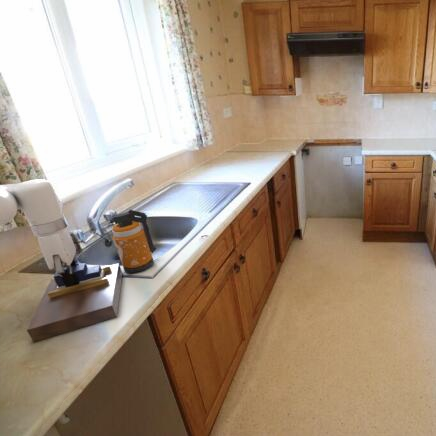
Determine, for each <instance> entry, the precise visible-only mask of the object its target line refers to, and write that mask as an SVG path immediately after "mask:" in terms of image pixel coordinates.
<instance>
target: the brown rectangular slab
mask: <svg viewBox="0 0 436 436" xmlns="http://www.w3.org/2000/svg"><path fill="white" fill-rule="evenodd" d="M101 269H102V270H104V272H105V273H104V277H103V278H101V279H97V280H93V281H90V282H86V283H82V284H78V285H74V286H70V287H66V288H62V289H58V290H57V289H56V288H57V283H56V281H55V279H54V278H53V279H50V281H49V282H48V285H47V287H46V289H45V291H44V293H43V296H42V297H41V300H40V301H39V303H38V305H37V308H36V310H35V313H33V316H32V318H31V320H30V322H29V324H28V326H27V329H26V332H27V333H28V335H29V337H30V338H31V340H32V342H33V343H37V342H39V341H42V340H46V339H49V338H53V337H56V336H59V335H63V334H66V333H69V332H73V331H76V330H80V329H83V328H85V327H89V326H92V325H96V324H99V323H101V322H106V321H109V320H112V319H116V318H118V312H119V310H118V309H119V305H120V304H119V302H120V295H121V287H122V279H123V271H122V268H121V265H120V263H119V262H118V263H114V264H107V265H104V266H101Z"/></svg>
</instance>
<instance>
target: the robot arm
mask: <svg viewBox="0 0 436 436" xmlns="http://www.w3.org/2000/svg"><path fill="white" fill-rule="evenodd" d="M18 210H21V211H22V212H23V214H24V216H25V219H26V221H27V223H28V225H29V227H30V229H31V232H32V233H33V236H35V237H37V241H38V245H39V248H40V251H41V253H42V256H43V259H44V261H45V263H46V265H47V267H48V269H49V270H50V271H51V270H54V269H55V272H56V271H57V274H60V277H61V278H62V280H63V282H64V284H65V286H66V287H70V286H74V285H78V284H79V283H80V282H79V280H78V278H77V276H76V273H75V272H74V273H73V270H72V267H71V266H74V265H79V264H80V263H79V262H78V259H77V258H76V253H77V249H76V245H75V242H74V241H73V239H72V237H71V235H70V233H69V230H68V228H69V227H70V226H69V223H68V220H67V218H66V216H65V214H64V211H63V209H62V207H61V203H60V202H59V199H58V197H57V195H56V193H55V190H54V188H53V185H52V184H51V182H50V181H49V180H47V179H43V178H40V179H39V178H37V179H29V180H25V181H22V182H19V183H7V184H0V226H1V225H4V224H7V223H9V222H11V221H12V220H14V218H15V217H16V215H17V213H18ZM66 267H68V269H64V268H66Z"/></svg>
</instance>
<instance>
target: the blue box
mask: <svg viewBox="0 0 436 436" xmlns="http://www.w3.org/2000/svg"><path fill="white" fill-rule="evenodd" d="M78 264H79V265H74V266H71V267H72V270H73V273H74V272H75V273H76V276H77V278H78V280H79V282H80V283H79V284H82V283H86V282H90V281H93V280H97V279H101V278H103V277H104V273H105V272H104V270H102V269H101V267H102V266H101V265H100V264H99V265H95V266H90V267H88V265H87V263H86V262H84V263H78ZM64 269H68V267H66V268H65V267H64ZM53 279H55V281H56V283H57V288H56V289H57V290H58V289H62V288H66V286H65V284H64V282H63V280H62V278H61V277H60V274H57V271H56V270H55V273H54V274H53Z"/></svg>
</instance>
